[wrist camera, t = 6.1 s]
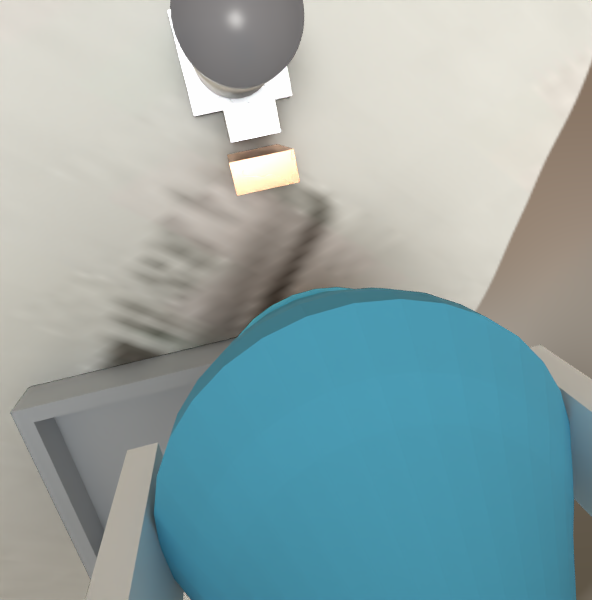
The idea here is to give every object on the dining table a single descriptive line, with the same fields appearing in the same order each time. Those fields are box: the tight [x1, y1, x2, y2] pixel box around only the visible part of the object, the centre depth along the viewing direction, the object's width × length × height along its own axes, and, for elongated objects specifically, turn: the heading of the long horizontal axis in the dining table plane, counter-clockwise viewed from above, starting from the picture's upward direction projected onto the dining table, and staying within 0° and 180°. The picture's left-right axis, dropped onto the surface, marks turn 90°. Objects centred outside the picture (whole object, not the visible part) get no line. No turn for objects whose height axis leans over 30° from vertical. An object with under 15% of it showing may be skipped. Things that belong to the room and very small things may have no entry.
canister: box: [170, 0, 304, 99], centre depth 21 cm, size 5×5×10 cm
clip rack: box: [167, 10, 300, 196], centre depth 28 cm, size 6×31×7 cm, turn 12°
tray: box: [10, 337, 237, 580], centre depth 33 cm, size 14×14×3 cm
